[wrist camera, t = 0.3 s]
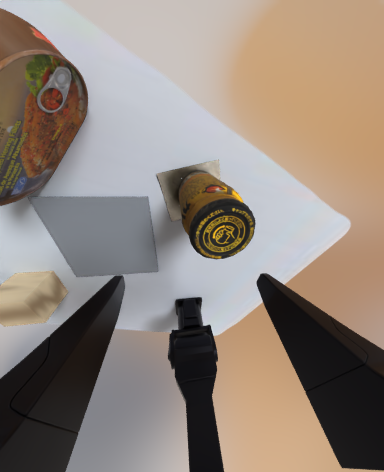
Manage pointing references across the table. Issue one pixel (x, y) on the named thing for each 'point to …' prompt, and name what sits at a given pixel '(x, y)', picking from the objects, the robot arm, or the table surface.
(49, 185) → the table surface
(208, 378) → the robot arm
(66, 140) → the tin
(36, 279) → the oak cube
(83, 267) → the slate mat
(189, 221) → the condiment
